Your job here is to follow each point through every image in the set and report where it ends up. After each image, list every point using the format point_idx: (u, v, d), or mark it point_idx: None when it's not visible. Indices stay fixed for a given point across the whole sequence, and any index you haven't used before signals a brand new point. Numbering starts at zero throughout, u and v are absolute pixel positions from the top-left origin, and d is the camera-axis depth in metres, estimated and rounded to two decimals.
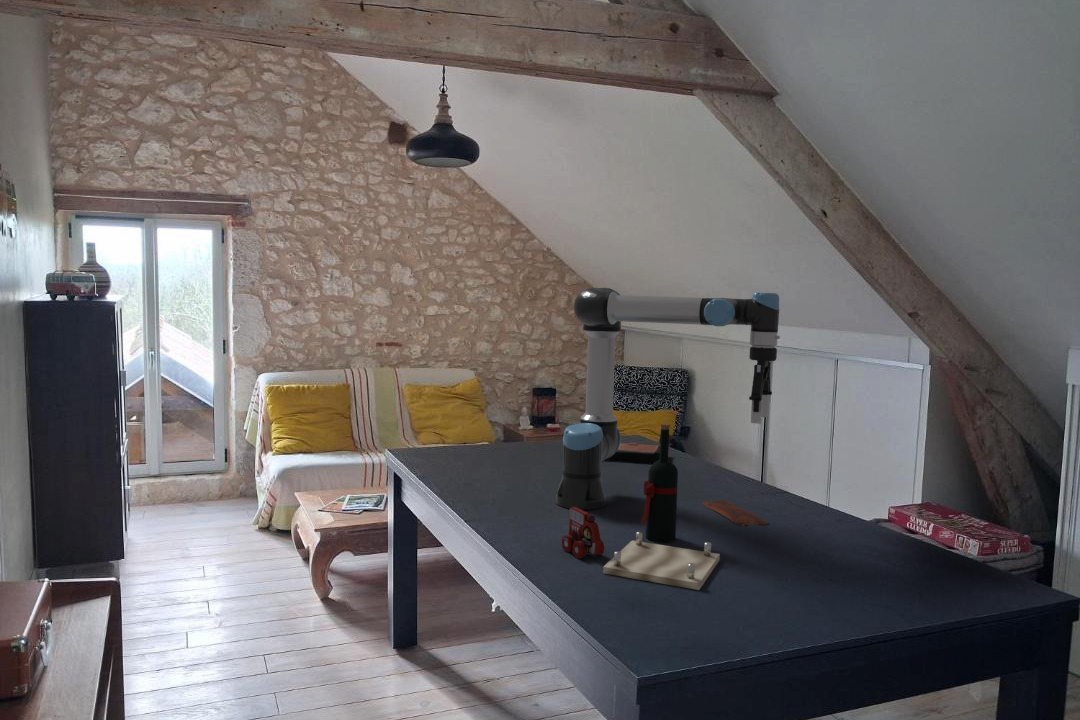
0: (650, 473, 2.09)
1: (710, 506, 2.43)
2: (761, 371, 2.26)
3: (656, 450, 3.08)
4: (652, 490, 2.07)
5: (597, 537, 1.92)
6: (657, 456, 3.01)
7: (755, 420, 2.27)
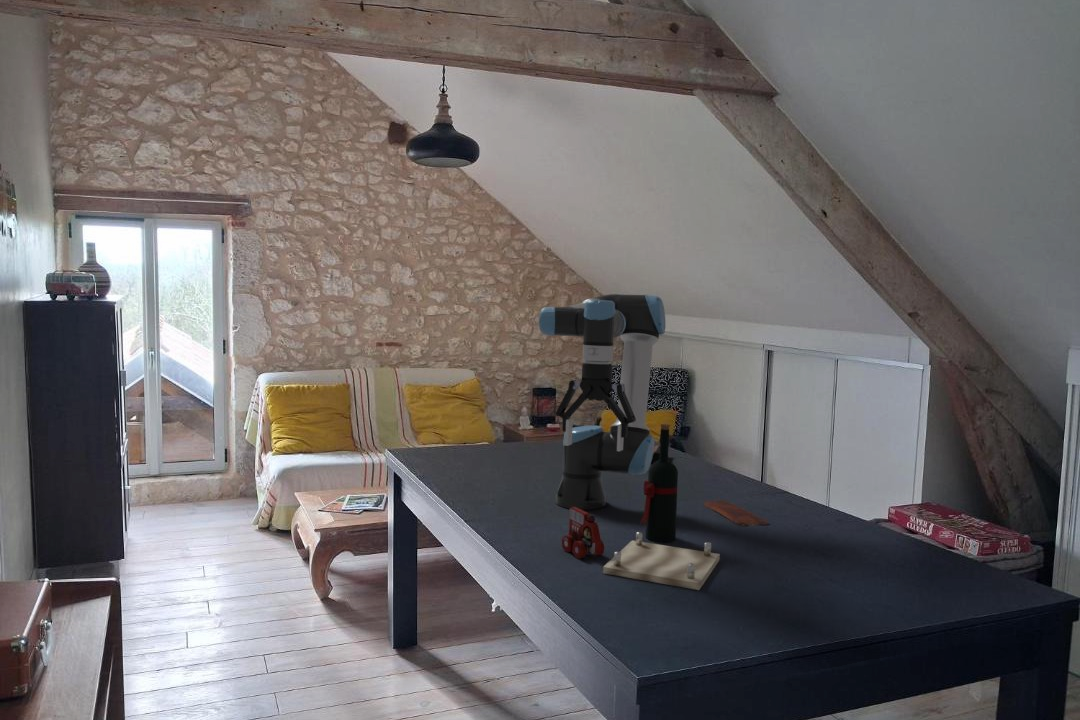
0: (650, 473, 2.09)
1: (710, 506, 2.43)
2: None
3: (656, 450, 3.07)
4: (652, 490, 2.07)
5: (597, 537, 1.92)
6: (656, 456, 3.01)
7: None
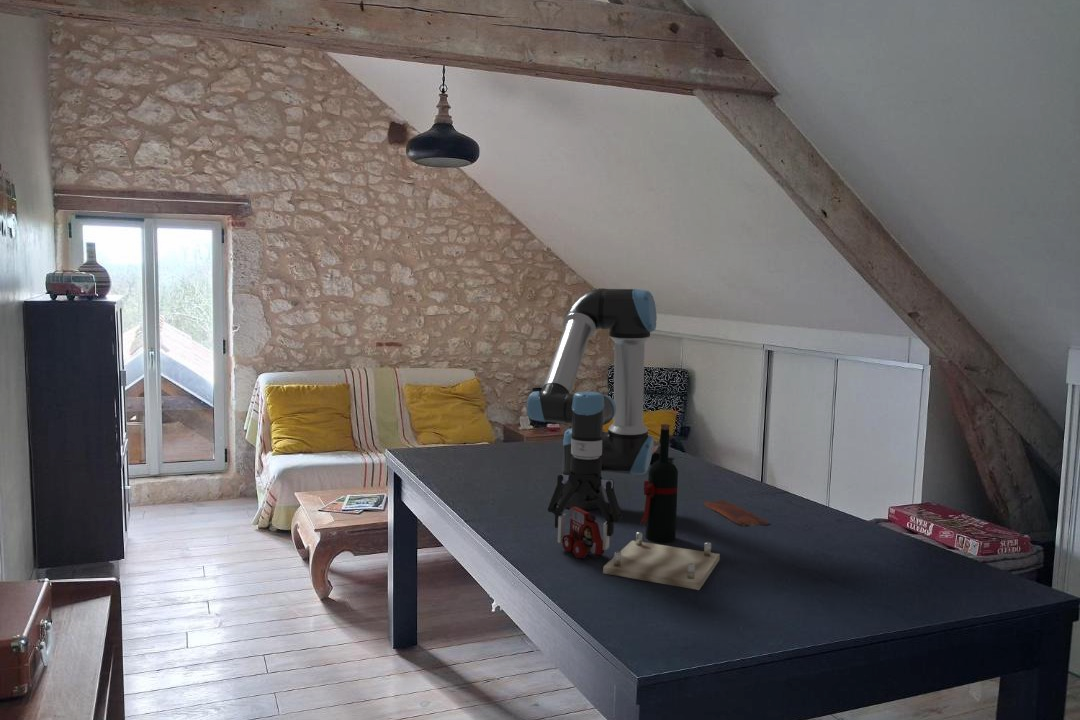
0: (650, 473, 2.09)
1: (711, 506, 2.43)
2: None
3: (655, 450, 3.07)
4: (652, 490, 2.07)
5: (597, 537, 1.92)
6: (656, 456, 3.00)
7: None
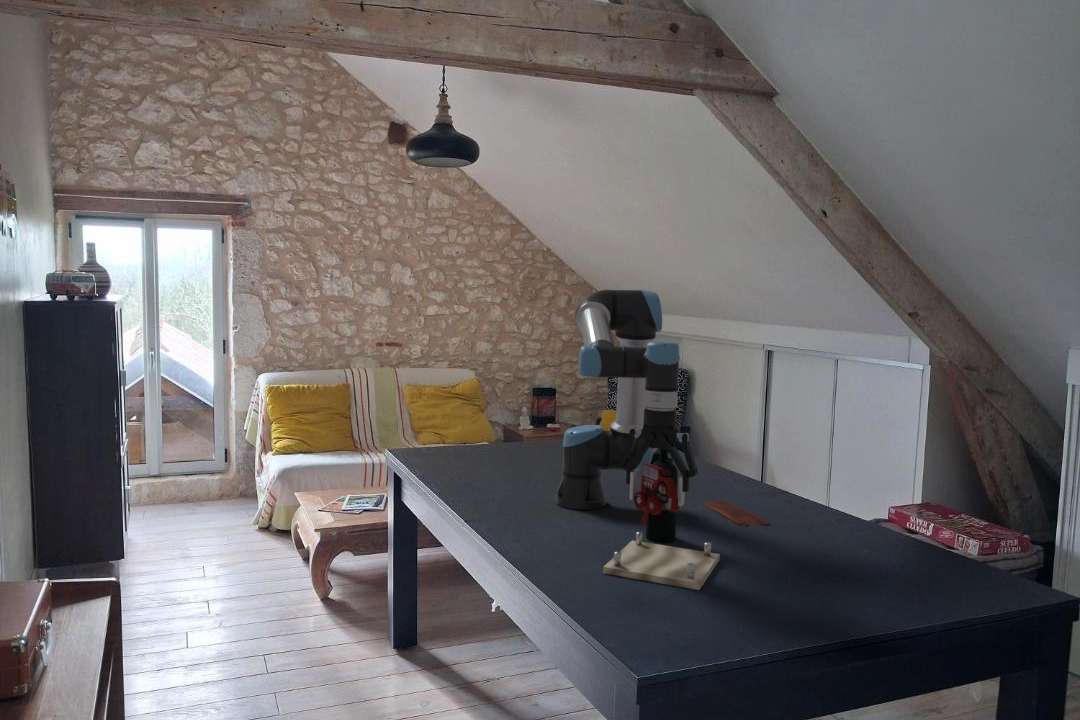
0: None
1: (711, 506, 2.43)
2: None
3: (655, 451, 3.06)
4: None
5: (673, 492, 1.84)
6: (655, 457, 3.00)
7: None
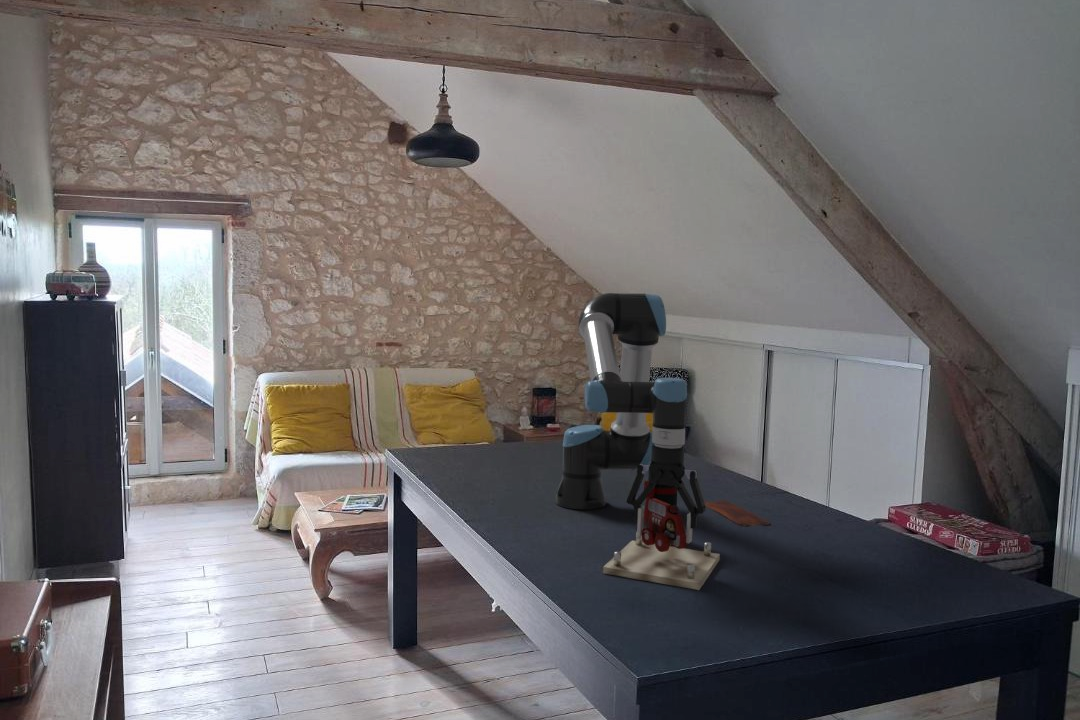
0: (650, 473, 2.09)
1: (711, 506, 2.43)
2: None
3: None
4: (652, 490, 2.07)
5: (681, 529, 1.84)
6: None
7: None
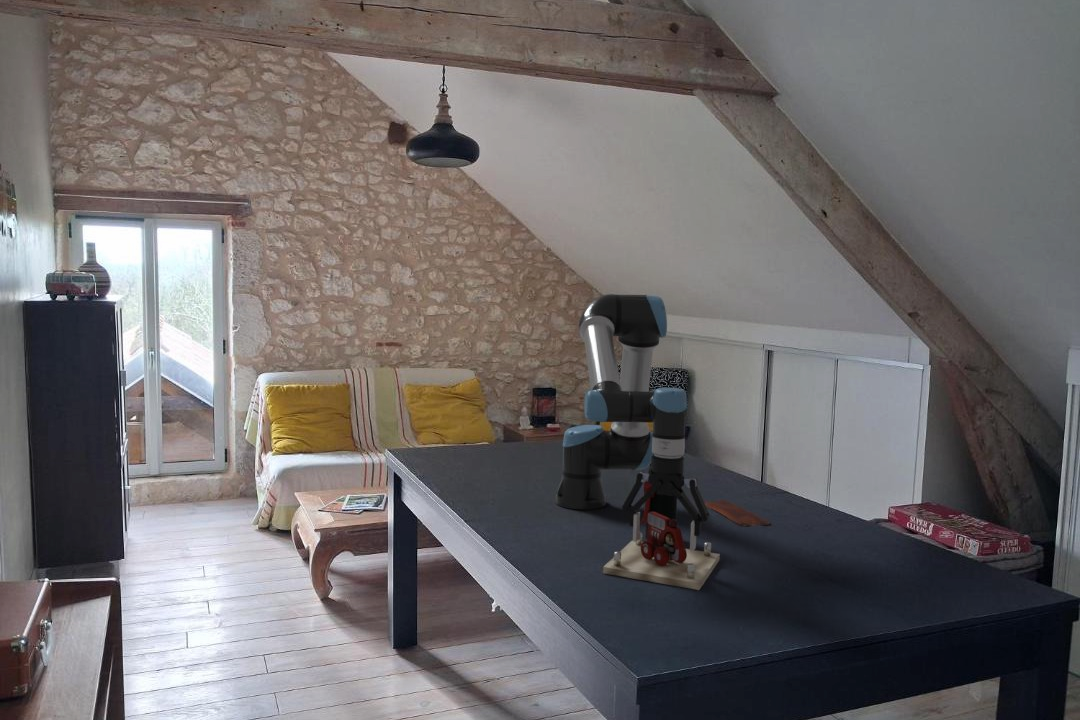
0: None
1: (711, 506, 2.43)
2: None
3: None
4: None
5: (680, 543, 1.84)
6: None
7: None
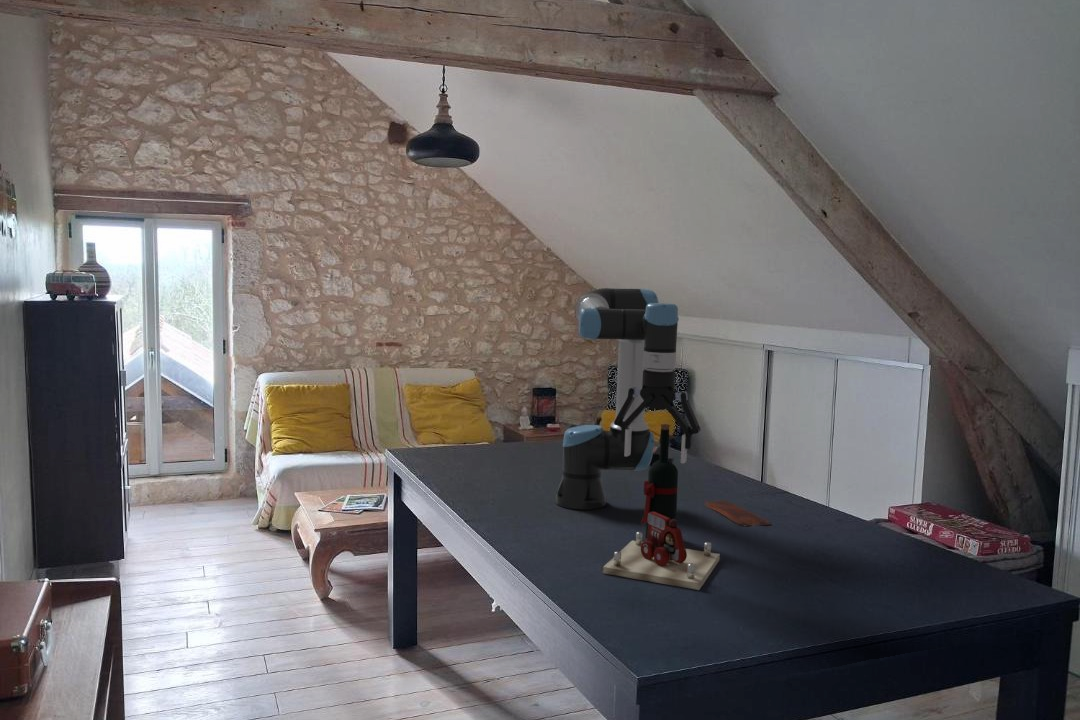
0: (650, 473, 2.09)
1: (712, 506, 2.43)
2: None
3: (655, 451, 3.05)
4: (652, 490, 2.07)
5: (680, 543, 1.84)
6: (655, 457, 2.99)
7: None
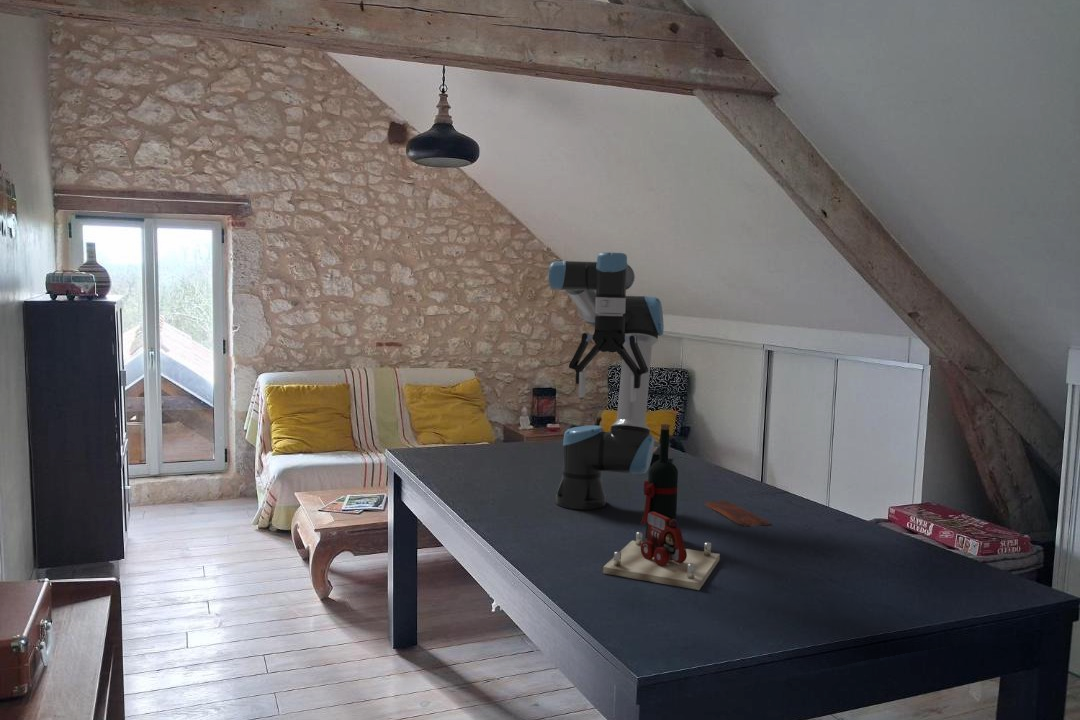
0: (650, 473, 2.09)
1: (712, 507, 2.43)
2: None
3: (654, 451, 3.05)
4: (652, 490, 2.07)
5: (680, 543, 1.84)
6: (654, 457, 2.98)
7: None
